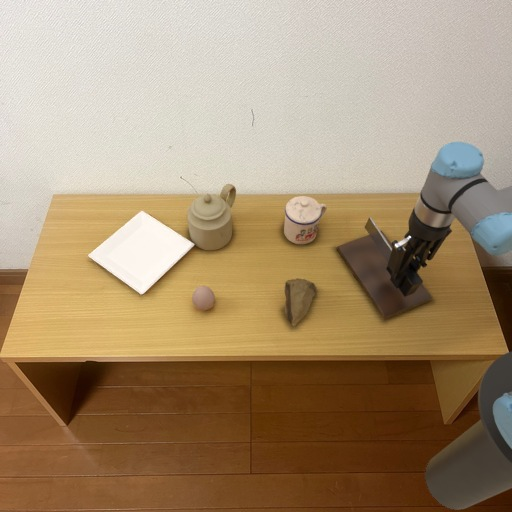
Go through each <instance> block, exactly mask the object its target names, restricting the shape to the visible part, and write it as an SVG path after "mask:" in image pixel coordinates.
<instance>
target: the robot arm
mask: <svg viewBox="0 0 512 512" xmlns="http://www.w3.org/2000/svg"><path fill="white" fill-rule="evenodd" d="M484 164H485V159H484V155H483V153H482V151H481V150H480V149H479V148H478V147H476V146H475V145H473V144H471V143H468V142H465V141H452V142H449V143H446V144H444V145H443V146H442V147H441V148H439V150H438V152H437V154H436V156H435V158H434V160H433V161H432V162H431V164H430V169H429V171H428V174H427V176H426V179H425V181H424V184H423V186H422V188H421V190H420V193H419V196H418V198H417V200H416V202H415V204H414V207H413V209H412V210H411V214H410V215H409V218H408V224H407V225H408V231H407V232H406V233H405V234H404V237H403V238H402V239H401V240H397V239H394V240H392V242H391V244H392V246H393V248H392V251H391V255H390V258H389V262H388V267H389V268H390V270H391V271H392V274H391V275H392V276H391V278H390V280H391V282H392V283H393V285H394V286H395V287H396V289H397V288H399V287H400V285H401V283H402V281H403V279H404V277H405V275H406V273H407V271H406V270H405V269H406V268H407V266H408V265H409V263H411V264H412V266H413V267H414V269H415V270H416V272H417V273H419V271H420V269H421V267H422V268H423V269H424V268H426V267H427V266H428V264H427V262H426V261H432V260H433V259H434V257H435V255H436V254H437V252H438V251H439V249H440V248H441V246H442V245H443V243H444V242H445V240H446V239H447V238H448V236H449V235H451V233H452V232H453V230H452V228H450V227H451V226H452V224H453V222H454V221H455V219H456V220H457V221H458V222H459V223H460V224H461V226H462V227H463V228H464V229H465V231H466V232H467V233H468V234H469V235H470V236H471V239H473V241H474V242H476V243H477V244H479V246H480V247H481V248H482V249H483V250H484V251H486V252H487V253H488V254H489V255H491V256H502V255H505V254H508V253H510V252H511V251H512V185H510V186H507V187H506V186H505V187H504V188H501V189H497V188H495V187H494V186H493V185H492V183H490V182H489V180H487V178H486V177H484V176H483V174H482V173H481V172H482V170H483V169H484V168H483V167H484ZM493 415H494V419H495V422H496V425H497V427H498V429H499V431H500V433H501V435H502V436H503V438H504V439H505V441H506V442H507V444H508V445H509V446H510V448H511V449H512V392H509V393H504V394H503V396H502V397H500V398H498V399H497V400H496V401H495V402H494V404H493Z"/></svg>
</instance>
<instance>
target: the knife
mask: <svg viewBox="0 0 512 512" xmlns="http://www.w3.org/2000/svg"><path fill="white" fill-rule="evenodd" d="M364 229H365V230H366V232H367V233H368V235H370V236H371V238H372V239H373V241H374V242H375V244H376V246H377V247H378V249H379V250H380V252H381V253H382V255H383V256H384V258H385V259H386V261H387V262H389V258H390V255H391V251H392V248H391V246H390V245H389V243H388V242H387V240H386V239H385V237H384V236H383V234H382V233H381V231H382V230H380V228H379V227H378V225H377V224H376V222H375V221H374V219H373V218H372V217H371V216H369V217H368V219H367V221H366V223H365V225H364ZM386 269H387V271H388V272H389V274H390V275H391V274H392V271H391V270H390V268H389V267H388V266H387V268H386ZM405 270H406V271H407V273H406V275H405V277H404V279H403V281H402V283H401V285H400V287H399V289H400V291H401V292H402V294H403V295H404V297H405V296H408V295H410V294H413V293H415V292H416V290H417V289H418V288H419V286H420V285H421V284H423V283H424V280H423V279H422V278H421V276H420V275H419V272H416V270H415V269H414V267H413V266H412V264H411V263H409V265H408V266H407V268H406V269H405ZM391 276H392V275H391Z"/></svg>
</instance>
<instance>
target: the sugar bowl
mask: <svg viewBox="0 0 512 512" xmlns="http://www.w3.org/2000/svg"><path fill="white" fill-rule="evenodd" d="M236 196H237V189H236V186H235V185H233V183H226V184H225V185H224V186H223V187H222V189H221V191H220V195H217V194H213V193H205V194H201V195H199V196H198V197H196V198H195V199H193V201H192V202H191V204H189V206H188V208H187V211H186V219H187V227H188V232H189V237H190V241H191V242H192V243H194V246H196V247H197V248H199V249H202V250H205V251H216V250H220V249H222V248H224V247H225V246H227V245H228V244H229V243H230V242H231V239H232V238H233V214H232V208H233V206H234V203H235V200H236Z"/></svg>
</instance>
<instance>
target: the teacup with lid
mask: <svg viewBox="0 0 512 512" xmlns="http://www.w3.org/2000/svg"><path fill="white" fill-rule="evenodd" d="M326 211H327V205H326V204H325V203H319V202H318V200H316V199H315V198H313V197H310V196H306V195H298V196H295V197H292V198H291V199H289V200H288V202H287V203H286V204H285V207H284V213H285V214H284V215H285V216H284V223H283V226H284V227H283V233H284V236H285V238H286V239H287V240H288V241H289V242H291V243H292V244H296V245H306V244H310V243H311V242H313V241H314V240H315V239H316V237H317V235H318V230H319V224H320V219H321V218H322V217H323V216H324V215H325V213H326Z"/></svg>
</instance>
